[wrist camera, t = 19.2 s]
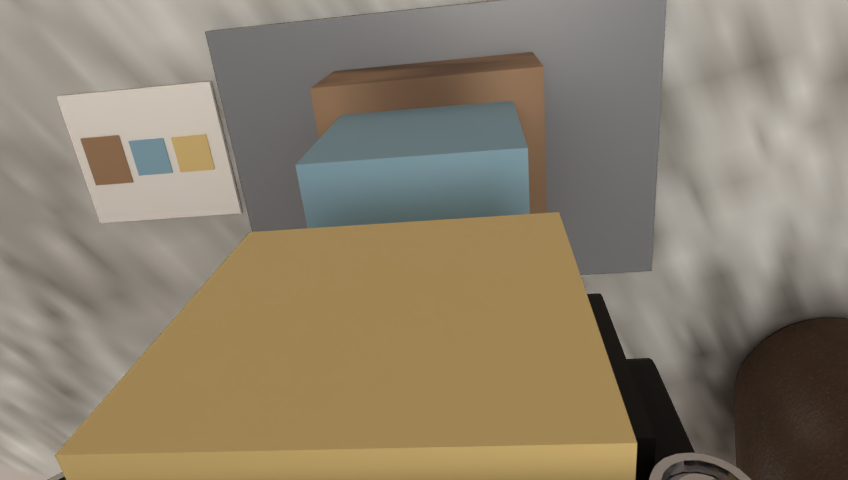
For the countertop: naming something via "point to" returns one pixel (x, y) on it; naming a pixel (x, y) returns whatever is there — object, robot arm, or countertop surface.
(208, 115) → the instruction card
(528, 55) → the walnut base brick
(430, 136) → the blue brick
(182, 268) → the countertop surface
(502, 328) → the ochre brick
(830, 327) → the plant pot
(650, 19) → the grey flat board
